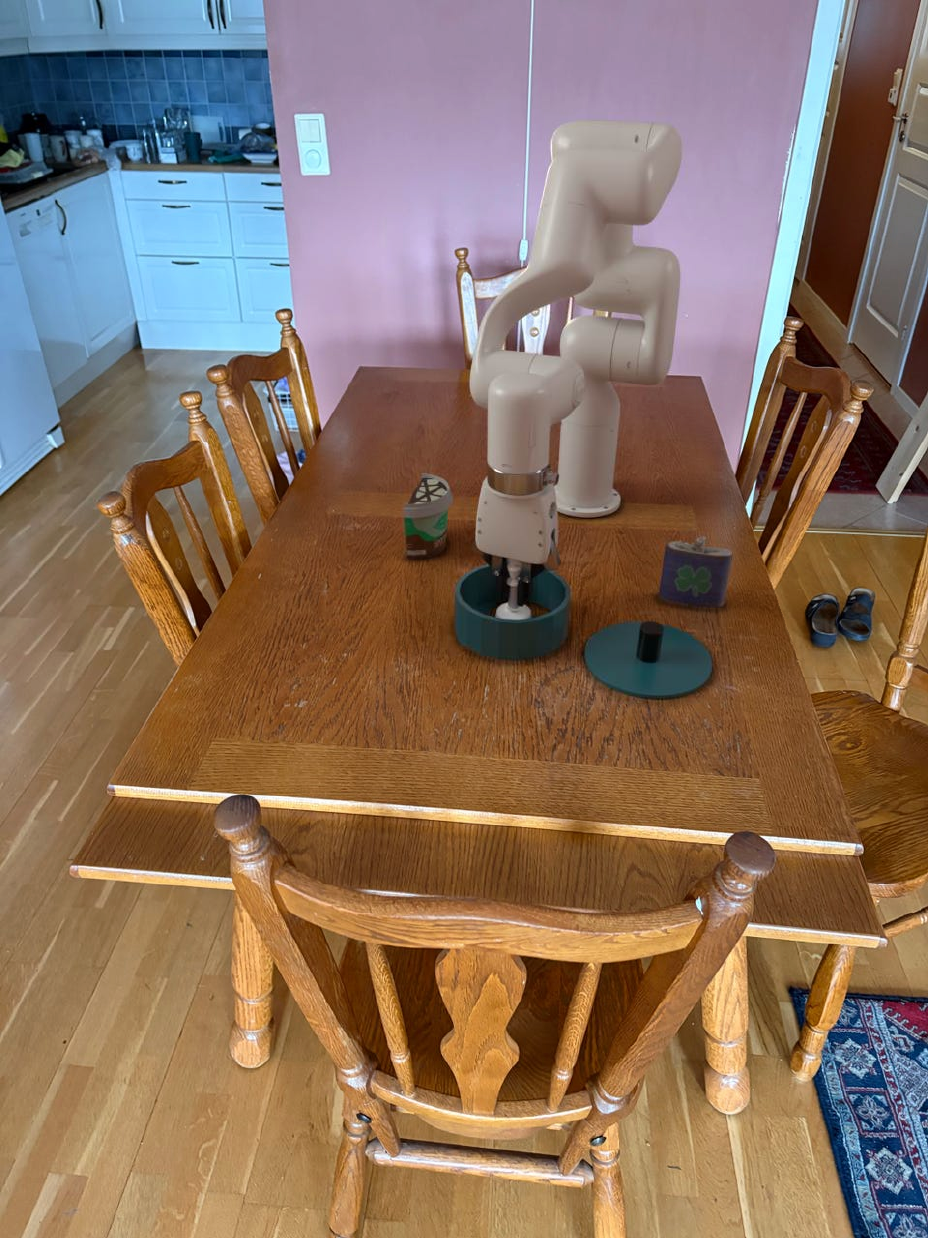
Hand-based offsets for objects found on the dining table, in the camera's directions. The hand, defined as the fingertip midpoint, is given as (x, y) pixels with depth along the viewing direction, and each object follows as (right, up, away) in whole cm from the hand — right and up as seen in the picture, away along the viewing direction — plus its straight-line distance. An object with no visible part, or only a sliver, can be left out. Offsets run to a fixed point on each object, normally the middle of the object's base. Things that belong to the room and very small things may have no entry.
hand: (513, 598), depth 124 cm
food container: (-12, +9, +22) cm, 26 cm away
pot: (0, -4, +2) cm, 5 cm away
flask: (+26, -1, +8) cm, 27 cm away
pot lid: (+17, -8, -5) cm, 20 cm away
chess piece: (0, -3, +2) cm, 3 cm away
